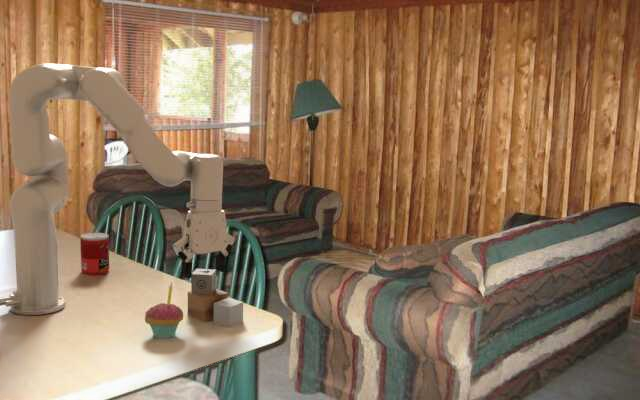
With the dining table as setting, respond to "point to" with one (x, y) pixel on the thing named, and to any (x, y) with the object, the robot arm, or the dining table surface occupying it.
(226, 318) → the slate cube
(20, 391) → the dining table surface
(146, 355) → the dining table surface
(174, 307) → the cupcake
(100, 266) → the canned food
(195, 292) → the dice cube
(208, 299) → the walnut block
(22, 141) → the robot arm
